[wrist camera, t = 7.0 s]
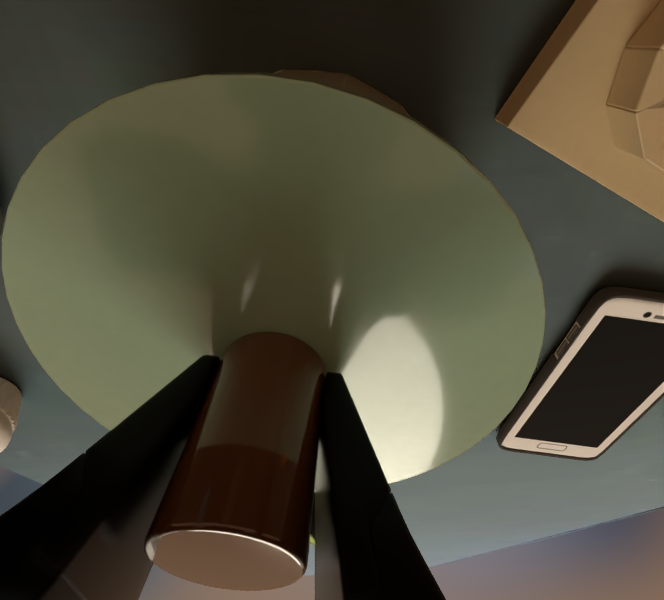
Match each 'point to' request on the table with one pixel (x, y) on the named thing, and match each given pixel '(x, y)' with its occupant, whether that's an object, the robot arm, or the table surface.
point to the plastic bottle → (0, 221)
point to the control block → (600, 97)
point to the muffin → (8, 411)
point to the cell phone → (594, 379)
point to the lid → (270, 295)
